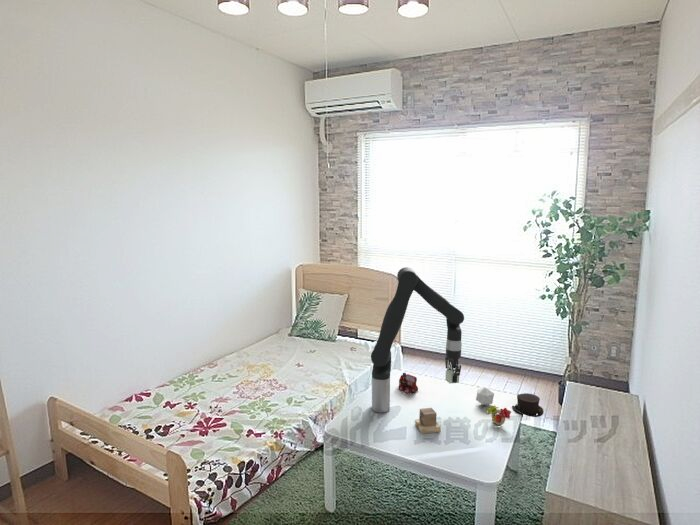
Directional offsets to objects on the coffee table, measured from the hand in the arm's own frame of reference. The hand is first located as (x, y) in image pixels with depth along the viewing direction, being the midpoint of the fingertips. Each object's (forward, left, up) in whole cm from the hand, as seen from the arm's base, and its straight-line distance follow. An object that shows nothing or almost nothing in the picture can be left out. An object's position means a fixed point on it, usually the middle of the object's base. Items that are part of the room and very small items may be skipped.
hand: (452, 380), depth 230 cm
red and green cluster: (+19, +16, -16) cm, 30 cm away
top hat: (+9, +38, -16) cm, 42 cm away
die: (-1, +19, -16) cm, 25 cm away
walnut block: (+15, -19, -13) cm, 28 cm away
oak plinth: (+15, -19, -16) cm, 29 cm away
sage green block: (0, 0, -1) cm, 1 cm away
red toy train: (-27, -14, -16) cm, 34 cm away
